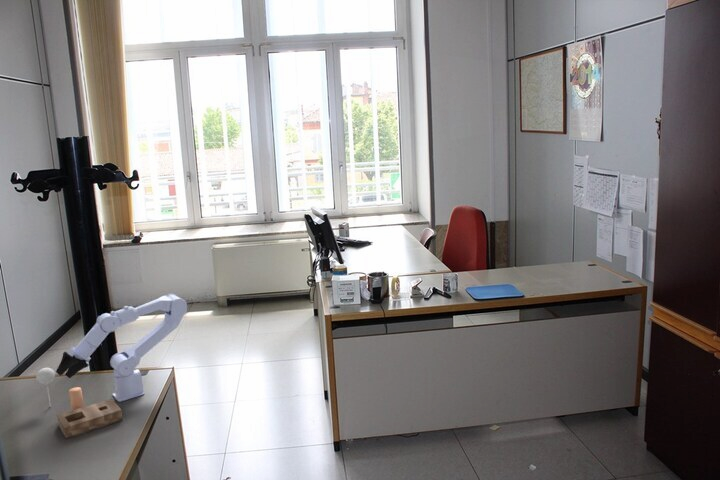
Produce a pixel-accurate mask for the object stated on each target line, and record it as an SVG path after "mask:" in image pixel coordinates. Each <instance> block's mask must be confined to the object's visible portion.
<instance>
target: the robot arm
mask: <svg viewBox="0 0 720 480" xmlns="http://www.w3.org/2000/svg"><path fill="white" fill-rule="evenodd" d="M157 311H162V312H164V319H163V320H162V321H160V322H159V324H157V325H156V326H155V327H154V328H152V330H150V331H149V332H148V333H146V334H145V335H144V336H143V337H142V338H140V340H138V341H137V342H135V344H133V345H132V346H131V347H129V348H124V349H123V350H122V351H120V352H117V353H115V354H113V355H112V356H111V358H110V361H109V363H110V367H111V368H112V369H113V374H112V376H113V377H112V378H113V384H114V390H115V391H114V392H113V393H112V396H113V397H114V398H115V400H117V402H119V403H120V402H124V401H127V400H131V399H133V398H137V397H139V396H144V395H145V391H144V386H143V385H144V384H143V377H142V374H141V371H140V369H139V368H138V369H136V367H138V366H139V365H140V361H141V359H142V357H145V355H146V354H147V353H148V352H149V351H151V350H152V349H153V348H154V347H156V346H157V345H158V344H159V343H160V342H161V341H162V340H164V339H165V338H166V337H168V335H170V334H171V333H172V332H174V330H176V329H177V328H178V327H179V326H180V323H181V321H182V320H183V318H184V315H185V314H187V313H188V304H187V301H186V300H185V299H184V298H182V297H179V296H177V294H174V293H167V295H162V296H160V297H158V298H156V299H154V300H151V301H148V302H146V303H144V304H141V305H139V306H136V307H133V306H132V305H130V306H128V305H124V306H123V308H121V309H119V310H118V309H117V310H116V311H114V310H112V311H110V313H108V312H105V313H102V314H101V315H98V316H97V318H96V322H95V324H94V325H93V326H92V327H91V329H90V330H89V331H88V332H87V334H86V335H85V336H84V337H83V338H82V339H81V340H80V341H79V343H78V344H77V345H76V346H75V347H74V346H71V347H70V349H69V350H68V351H64V352H63V353H62V358H61V361H60V363H59V365H58V366H57V368H56V370H55V374H58V375H59V376H63V375H65V376H66V377H67V378H69V379H71V378H72V377H74V376H75V375H76V374H77V373H79V372H80V371H82V370H83V369H85V368H88V367H89V365H90V364H89V362H90V360H91V359H92V358H91V357H90V356H91V355H92V354H93V353H94V352H95V351H96V350H97V348H98V347H99V346H100V345H101V343H102V342H104V340H105V339H106V338H107V336H108V335H109V334H110V333H113V332H115V331H116V330H117V329H118V328H119V327H122V326H124V325H127V324H130V323H133V322H136V321H137V320H138V318H139V317H140V316H144V315H147V314H151V313H154V312H157Z"/></svg>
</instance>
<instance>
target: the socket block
mask: <svg viewBox="0 0 720 480" xmlns="http://www.w3.org/2000/svg"><path fill="white" fill-rule="evenodd" d="M56 419H57V424H58V427H59V430H61V432H62V434H63V436H64V437H65V439H66V440H68V439H71V438H74V437H77V436H80V435H82V434H85V433H89V432H92V431H95V430H97V429H102V428H104V427H107V426H110V425H114V424H115V423H116V424H117V423H120V422H122V421H123V420H124V418H123V411H122V408H121V407H120V406H119V405H118V403H116V401H115V400H114V399H113V398H109V399H106V400H102V401H100V402H95V403H93V404H90V405H87V406H84V407H83V408H79V409H76V410H73V411H72V410H70V411H67V412H63V413H60V414H57V416H56Z"/></svg>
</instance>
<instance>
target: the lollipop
mask: <svg viewBox="0 0 720 480" xmlns="http://www.w3.org/2000/svg"><path fill="white" fill-rule="evenodd" d="M55 377H56V371H54V369H53V368H52V367H51V368H50V367H43V368H41V369H39V370H38V371H37V373H36V376H35V378H36V381H37V382H38V383H39V384H42V385H46V391H47V398H48V404H49V407H50V408H51V407H52V403H51V395H50V389H49V384H51V383H52V382H53V381H54V380H55Z"/></svg>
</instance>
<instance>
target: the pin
mask: <svg viewBox="0 0 720 480" xmlns="http://www.w3.org/2000/svg"><path fill="white" fill-rule="evenodd" d="M68 394H69V401H70V408H71V409H70V410H71V411H73V410H76V409H79V408H83V407H85V405H84V398H83V391H82V387H78V386H77V387H72V388H70V389H69V390H68Z"/></svg>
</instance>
